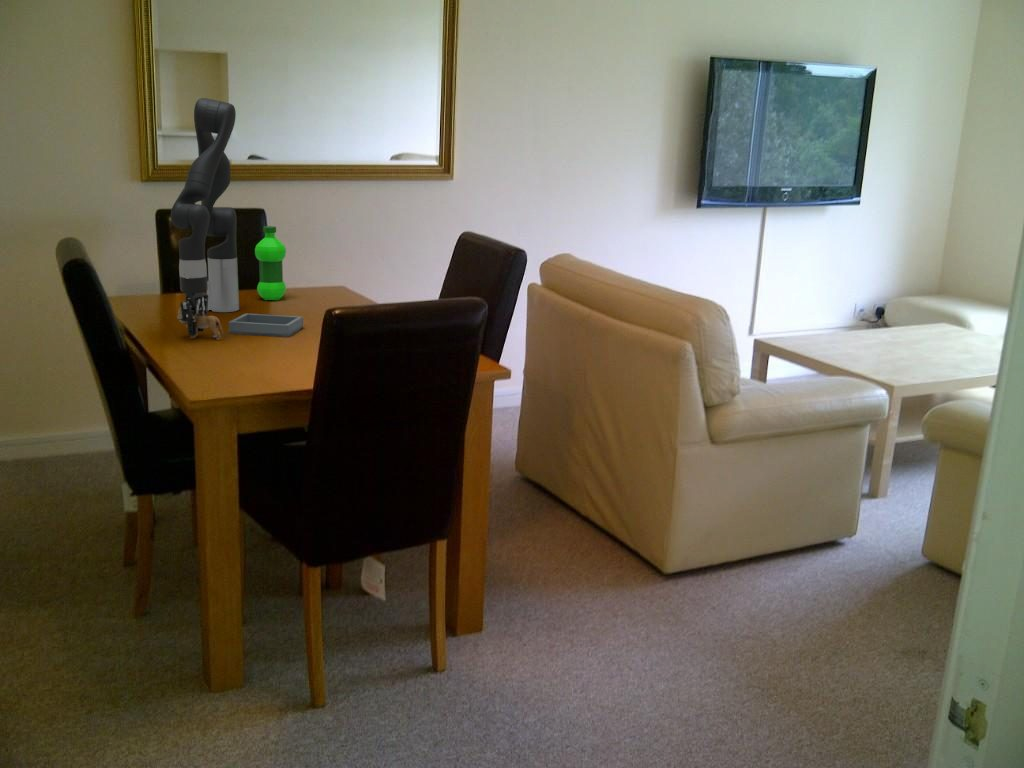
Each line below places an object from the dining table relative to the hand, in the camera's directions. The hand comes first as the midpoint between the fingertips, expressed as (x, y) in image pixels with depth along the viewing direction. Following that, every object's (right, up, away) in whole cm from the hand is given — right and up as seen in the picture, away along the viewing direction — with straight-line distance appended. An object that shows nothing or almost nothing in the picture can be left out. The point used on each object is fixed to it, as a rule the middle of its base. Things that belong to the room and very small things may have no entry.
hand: (196, 332), depth 300 cm
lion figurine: (+2, -2, 0) cm, 2 cm away
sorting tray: (+18, +1, +12) cm, 21 cm away
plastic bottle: (+8, +14, +60) cm, 62 cm away
